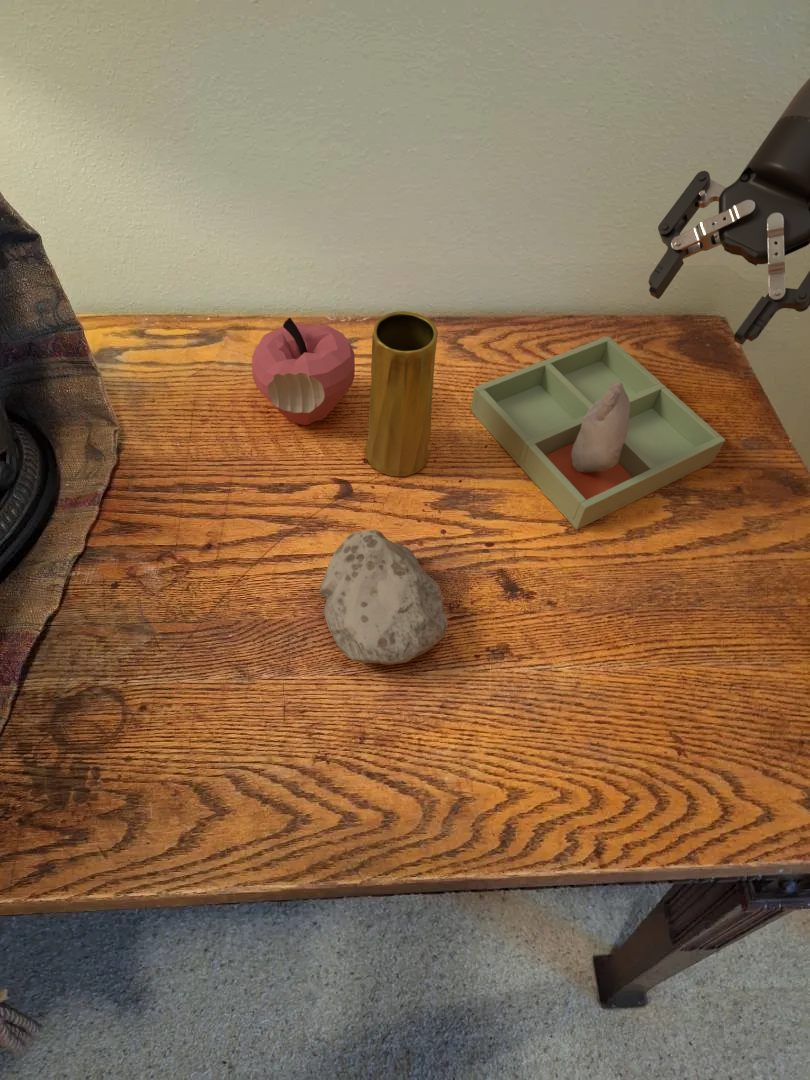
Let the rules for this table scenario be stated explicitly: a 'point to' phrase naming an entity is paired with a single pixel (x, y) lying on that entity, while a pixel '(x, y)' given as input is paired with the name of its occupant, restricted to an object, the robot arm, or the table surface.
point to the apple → (303, 370)
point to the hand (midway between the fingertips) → (694, 317)
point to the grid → (556, 417)
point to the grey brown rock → (602, 432)
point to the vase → (401, 393)
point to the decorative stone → (381, 601)
